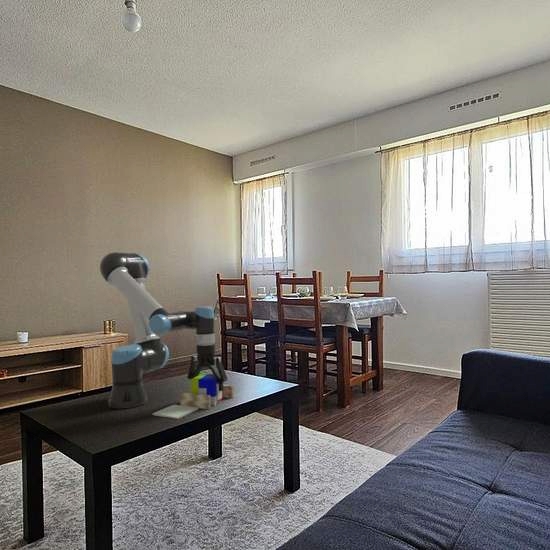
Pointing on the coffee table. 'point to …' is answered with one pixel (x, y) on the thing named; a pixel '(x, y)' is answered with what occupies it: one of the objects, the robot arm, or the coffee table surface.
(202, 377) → the puzzle toy
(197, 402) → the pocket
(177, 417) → the pad
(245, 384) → the coffee table surface
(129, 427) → the coffee table surface
